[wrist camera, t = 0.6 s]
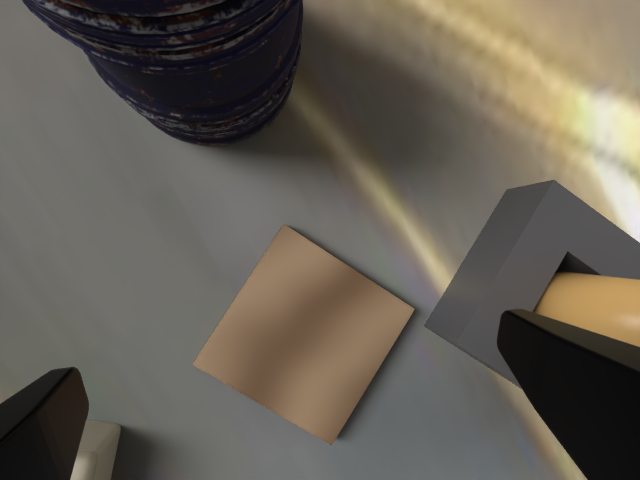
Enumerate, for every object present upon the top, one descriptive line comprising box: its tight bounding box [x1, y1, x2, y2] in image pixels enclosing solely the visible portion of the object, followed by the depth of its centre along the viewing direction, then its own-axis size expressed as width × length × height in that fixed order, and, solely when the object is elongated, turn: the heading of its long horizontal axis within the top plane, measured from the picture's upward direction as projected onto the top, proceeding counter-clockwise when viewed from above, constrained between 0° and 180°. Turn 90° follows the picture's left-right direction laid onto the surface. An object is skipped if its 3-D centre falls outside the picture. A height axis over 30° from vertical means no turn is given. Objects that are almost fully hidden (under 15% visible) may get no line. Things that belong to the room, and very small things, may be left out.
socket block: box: [424, 180, 640, 389], centre depth 22 cm, size 10×10×4 cm
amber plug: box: [532, 271, 640, 347], centre depth 19 cm, size 4×4×10 cm
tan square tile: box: [193, 224, 415, 445], centre depth 22 cm, size 9×9×1 cm
